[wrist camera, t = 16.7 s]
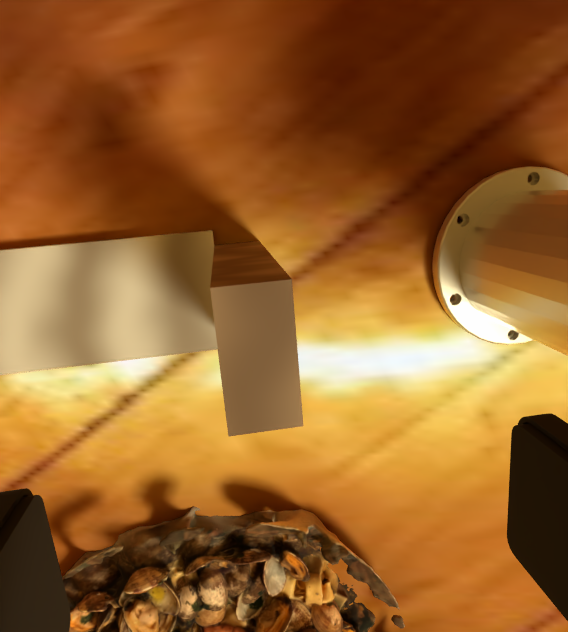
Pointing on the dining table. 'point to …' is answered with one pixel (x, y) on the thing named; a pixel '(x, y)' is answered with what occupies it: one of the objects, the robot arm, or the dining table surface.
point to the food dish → (222, 578)
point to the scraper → (158, 314)
